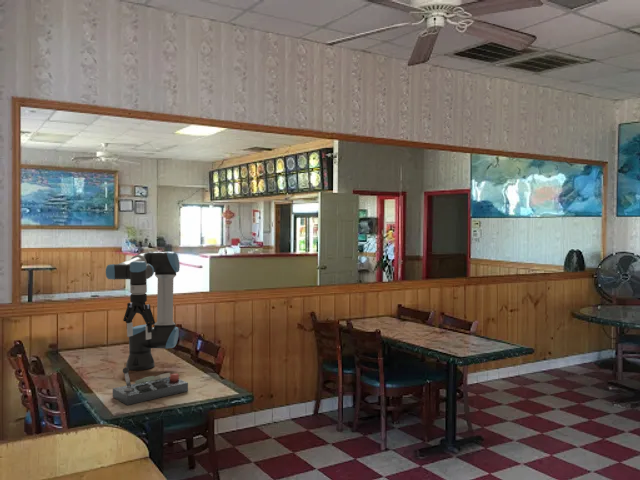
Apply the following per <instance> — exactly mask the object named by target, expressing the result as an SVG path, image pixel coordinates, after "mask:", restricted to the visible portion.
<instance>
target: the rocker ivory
mask: <svg viewBox="0 0 640 480" xmlns="http://www.w3.org/2000/svg"><path fill="white" fill-rule="evenodd" d="M170 374H171V373H170V372H165V373H160V374H158V375H156V376H155V375H154V379H155V380H153V381H157V380H162V379H165V378H168V377H170Z"/></svg>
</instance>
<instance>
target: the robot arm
mask: <svg viewBox="0 0 640 480" xmlns="http://www.w3.org/2000/svg"><path fill="white" fill-rule="evenodd" d="M180 266H181V265H180V258H179V255H178V254H177V252H175V251H146V252H141V253H138V254H136V255H133V256H132V257H131V258H130V259H128V260H126V261H125V260H124V261H123V262H120V263H116V264H115V263H112V264H107V266H106V268H105V277H106V278H107V279H108V280H114V281H115V280H129V281H130V282H129V286H130V291H129V292H130V295H129V299H130V302H128V303H127V304H126V307H127V308H126V310H125V312H124V313H125V314H124V315H123V319H122V321H123V322H125V324H126V337H127V338H128V345H129V346H128V347H129V348H128V349H129V351H128V357H127V361H126V363H125V364H126V365H125V366H126V367H127V368H128V369H129V371H143V370H149V369H152V368H154V367H155V359H154V357H153V354H152V349H174V348H175V347H176V345H177V344H178V340H179V334H180V331H179V327H178V326H176V323H175V322H174V319H173V318H174V278H175V277H176V276H177V273H178V272H180ZM153 275H154V276H155V277H156V278H157V294H156V295H157V296H156V297H157V300H156V301H157V302H156V303H157V304H156V306H157V308H156V311H157V312H156V314H157V315H156V322H155V319H154V315H153V312H152V309H151V304H149V303H148V304H146V302H147V301H148V297H147V296H148V295H147V293H148V292H147V291H148V287H147V286H148V284H147V280H149V279H150V278H152V277H153ZM137 314H140V315H141V317H142V319H143V321H144V323H145V324H140V325H136V326H133V324H134V322H133V320H134V318H135V317H136V315H137ZM153 325H154V326H153Z"/></svg>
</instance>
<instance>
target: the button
mask: <svg viewBox="0 0 640 480" xmlns="http://www.w3.org/2000/svg"><path fill="white" fill-rule="evenodd" d="M179 379H180V375H179V373H177V372H176V373H174V372H173V373H170V377H169V380H170V381H171V382H175V381H179Z"/></svg>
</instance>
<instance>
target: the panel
mask: <svg viewBox="0 0 640 480" xmlns="http://www.w3.org/2000/svg"><path fill="white" fill-rule="evenodd" d="M185 392H189V383H188V382H187V381H185V380H182V379H180V378H179V381H175V382H171V381H170V380H169V377H168V378H165V379H162V380H157V381H150V382H147V383H143V384H138V385H136V384H135V383H133V384H131V388H127V385H126V384H125V385H122V386H119V387H113V388H112V398H114V399H116V400H117V401H119V402H121V403H123V404H124V405H126V406H129V405H134V404H138V403H142V402H143V403H144V402H147V401H151V400H155V399H159V398H164V397H168V396H172V395H173V396H174V395H177V394H181V393H185Z"/></svg>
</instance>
